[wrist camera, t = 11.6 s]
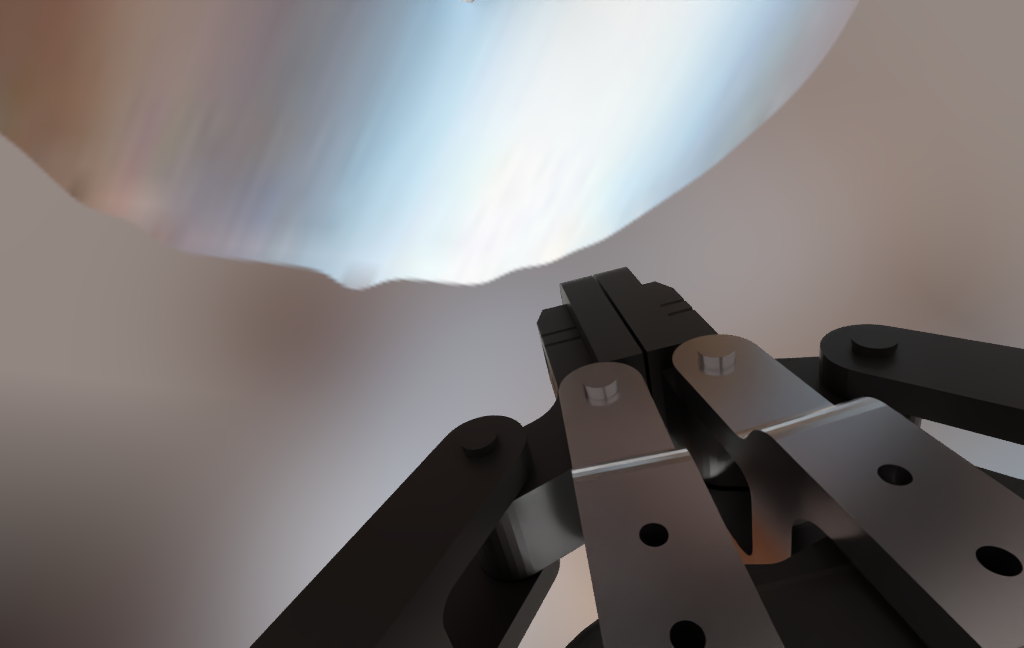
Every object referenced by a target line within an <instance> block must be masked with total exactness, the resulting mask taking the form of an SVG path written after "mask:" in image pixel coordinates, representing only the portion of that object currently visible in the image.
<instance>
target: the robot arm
mask: <svg viewBox="0 0 1024 648" xmlns="http://www.w3.org/2000/svg"><path fill="white" fill-rule="evenodd" d="M560 292H561V298H562V302H563V305H561V306H557V307H553V308H549V309H545V310H542V313H541V315H540V317H539V319H538V322H537V325H538V330H539V334H540V338H541V342H542V347H543V351H544V356H545V360H546V364H547V368H548V373H549V377H550V381H551V384H552V387H553V390H554V393H555V397H556V401H555V403H554V405H553V406H552V407H551V409H550V410H549V411H548V412H547V413H545V414H544V415H543V416H542V417H540V418H539V419H537V420H535V421H534V422H532V423H530V424H528V425H526V426H524V427H522V425H521V424H520V423H518V422H517V421H516V420H514V419H512V418H509V417H505V416H494V415H493V416H484V417H479V418H476V419H473V420H470V421H468V422H465V423H463V424H462V425H460V426H458V427H457V428H455V429H454V430H453V431H451V432H450V433H449V434H448V435H447V436H446V437H445V438H444V439H443V440H442V441H441V442H440V444H439V445H438V446H437V447H436V448H435V449H434V450H433V451H432V452H431V453H430V454H429V455H428V456H427V457H426V459H425V460H424V461H423V462H422V463H421V464H420V465H419V466H418V467H417V468H416V469H415V470H414V472H413V473H412V474H411V475H410V476H409V477H408V478H407V479H406V480H405V481H404V482H403V483H402V484H401V485H400V486H399V488H398V489H397V490H396V491H395V492H394V493H393V494H392V495H391V496H390V497H389V498H388V499H387V501H386V502H385V503H384V504H383V505H382V506H381V507H380V508H379V509H378V510H377V511H376V512H375V513H374V514H373V515H372V517H371V518H370V519H369V520H368V521H367V522H366V523H365V524H364V525H363V526H362V527H361V528H360V529H359V531H358V532H357V533H356V534H355V535H354V536H353V537H352V538H351V539H350V540H349V541H348V542H347V543H346V544H345V546H344V547H343V548H342V549H341V550H340V551H339V552H338V553H337V554H336V555H335V556H334V557H333V558H332V559H331V561H330V562H329V563H328V564H327V565H326V566H325V567H324V568H323V569H322V570H321V571H320V572H319V574H318V575H317V576H316V577H315V578H314V579H313V580H312V581H311V582H310V583H309V584H308V585H307V586H306V587H305V589H304V590H303V591H302V592H301V593H300V594H299V595H298V596H297V597H296V598H295V599H294V600H293V601H292V602H291V604H290V605H289V606H288V607H287V608H286V609H285V610H284V611H283V612H282V613H281V614H280V615H279V616H278V618H277V619H276V620H275V621H274V622H273V623H272V624H271V625H270V626H269V627H268V628H267V629H266V630H265V632H264V633H263V634H262V635H261V636H260V637H259V638H258V639H257V640H256V641H255V642H254V643H253V644H252V645H251V646H250V648H518V646H519V644H520V642H521V640H522V638H523V636H524V635H525V633H526V631H527V629H528V628H529V626H530V624H531V622H532V620H533V618H534V617H535V615H536V613H537V611H538V609H539V608H540V606H541V604H542V602H543V600H544V598H545V597H546V595H547V593H548V591H549V589H550V588H551V585H552V584H553V582H554V580H555V578H556V576H557V574H558V571H559V567H560V558H562V557H564V556H565V555H567V554H569V553H570V552H572V551H574V550H575V549H577V548H578V547H580V546H582V545H583V544H585V547H586V553H587V558H588V564H589V569H590V574H591V580H592V585H593V591H594V596H595V601H596V607H597V613H598V618H599V619H597V620H596V621H595V622H594V623H592V624H591V625H589V626H588V627H587V628H585V629H584V630H583V631H582V632H580V634H578V635H577V636H576V637H575V638H574V640H572V641H571V642H570V643H569V644H568V645H567V646H566V648H1024V480H1021V479H1017V478H1014V477H1010V476H1007V475H1004V474H1000V473H997V472H993V471H990V470H987V469H984V468H980V467H977V466H974V465H973V464H971V463H970V462H969V461H967V460H966V459H964V458H962V457H961V456H960V455H958V454H957V453H956V452H954V451H953V450H951V449H950V448H948V447H947V446H945V445H944V444H943V443H941V442H940V441H938V440H937V439H935V438H934V437H932V436H931V435H929V434H928V433H927V432H925V431H924V430H922V429H921V428H920V426H921V420H922V419H927V420H930V421H934V422H938V423H941V424H945V425H949V426H953V427H956V428H960V429H964V430H968V431H972V432H975V433H980V434H983V435H987V436H991V437H995V438H999V439H1002V440H1006V441H1010V442H1013V443H1017V444H1021V445H1024V349H1020V348H1014V347H1009V346H1003V345H997V344H991V343H985V342H979V341H973V340H967V339H961V338H955V337H949V336H943V335H937V334H932V333H926V332H920V331H914V330H908V329H902V328H896V327H891V326H884V325H872V324H862V325H851V326H846V327H842V328H838V329H836V330H834V331H831V332H830V333H828V334H826V336H824V337H823V339H822V340H821V343H820V357H803V358H785V359H774V358H772V357H771V356H770V355H769V354H768V353H766V352H765V351H764V350H762V349H761V348H760V347H759V346H757V345H756V344H754V343H753V342H751V341H749V340H747V339H744V338H741V337H737V336H733V335H720V334H718V333H717V332H716V331H715V330H714V329H713V328H712V327H711V326H710V325H709V324H708V323H707V322H706V321H705V320H704V319H703V318H702V317H701V316H700V315H699V314H698V313H697V312H696V311H695V310H693V309H692V307H691V306H690V305H689V304H688V303H687V302H686V301H684V299H683V298H682V297H681V296H680V295H679V294H678V293H677V292H676V291H675V290H674V289H673V288H671V287H669V286H666V285H663V284H661V283H658V282H651V283H647V284H643V285H642V284H641V283H640V282H639V281H638V280H637V278H636V277H635V276H634V275H633V274H632V272H631V271H630V270H629V269H628V268H627V267H623V268H619V269H615V270H611V271H607V272H603V273H599V274H595V275H593V276H588V277H584V278H580V279H576V280H572V281H568V282H564V283H560Z"/></svg>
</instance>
